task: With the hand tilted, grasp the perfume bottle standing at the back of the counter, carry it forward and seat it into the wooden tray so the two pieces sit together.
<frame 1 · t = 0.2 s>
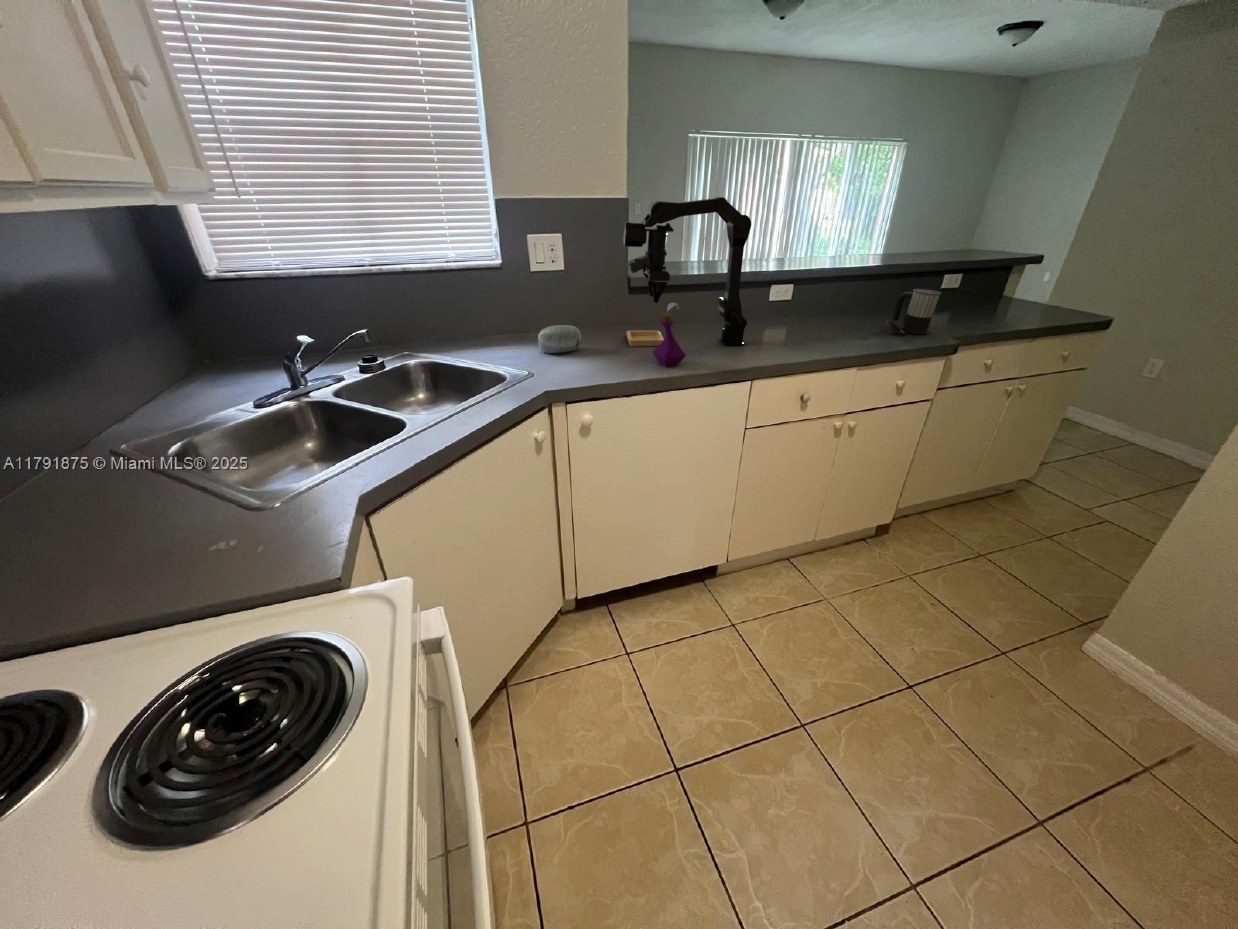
hand: (653, 299, 158), 15 cm above the worktop, tool pointing down, fingers open, 9 cm apart
perfume bottle: (668, 364, 148), on the worktop
milk frother: (905, 332, 184), on the worktop
grey rounded pouf: (560, 352, 156), on the worktop
wooden tray: (644, 340, 168), on the worktop
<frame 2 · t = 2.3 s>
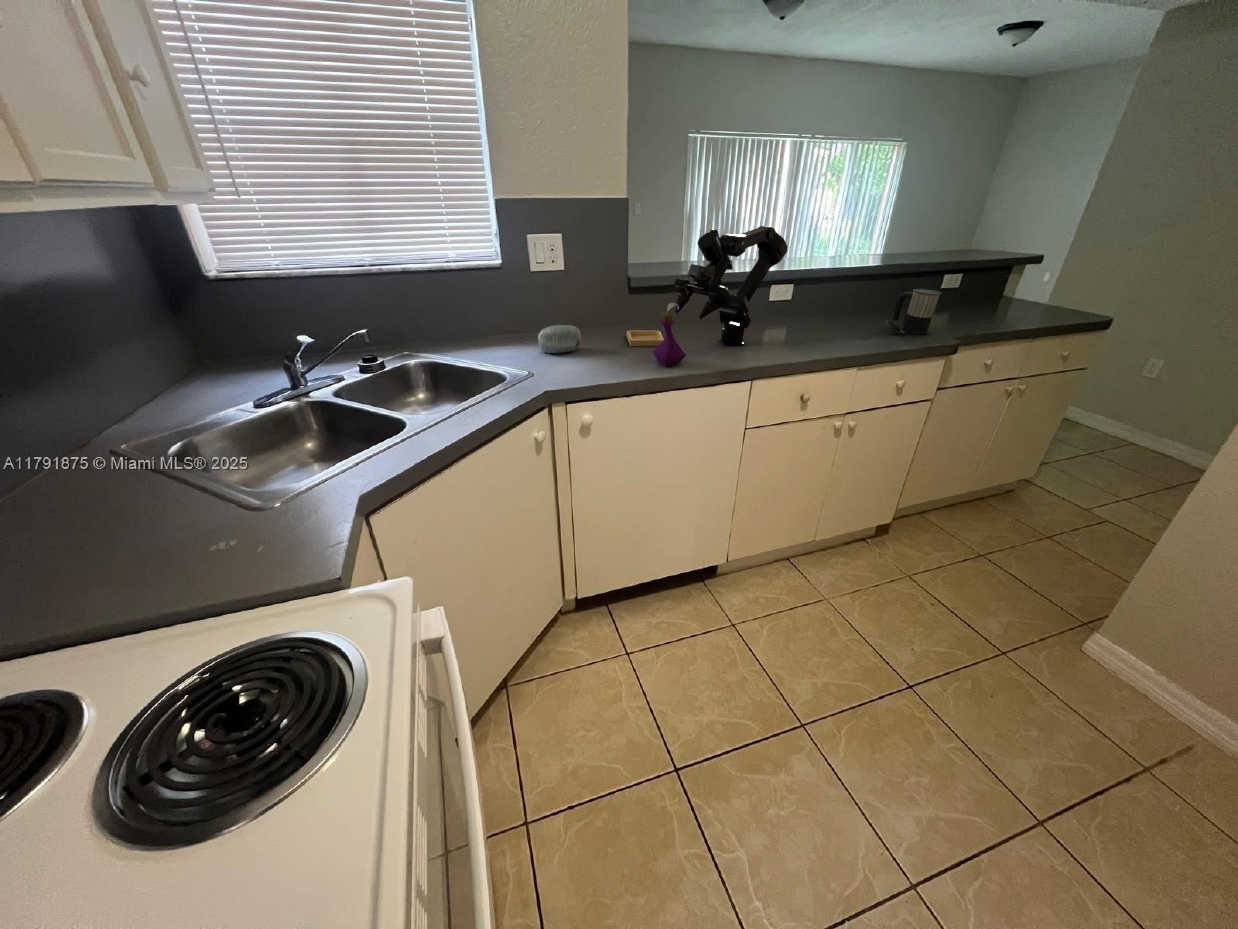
hand: (687, 314, 145), 13 cm above the worktop, tool tilted 45°, fingers open, 9 cm apart
nothing on the worktop moved.
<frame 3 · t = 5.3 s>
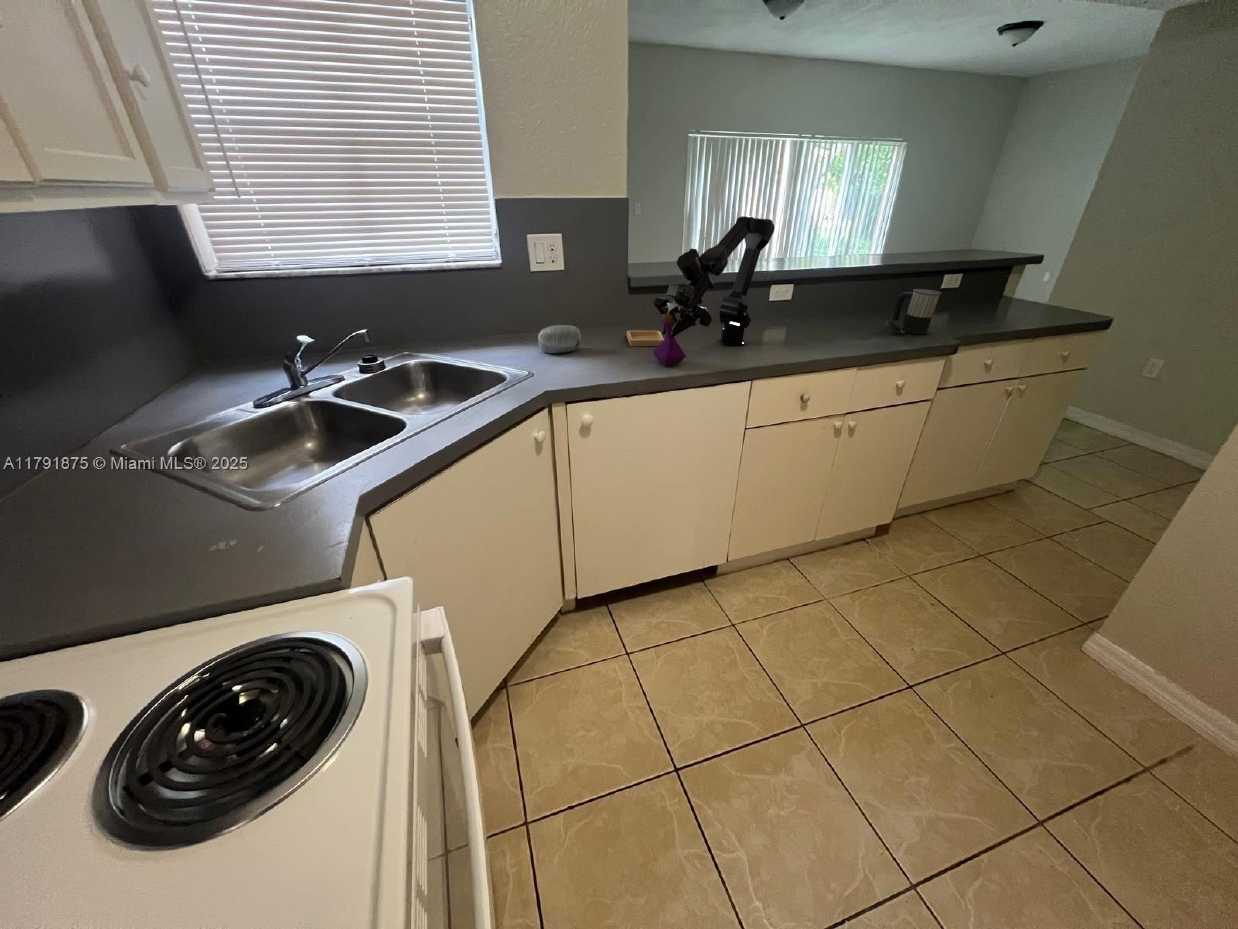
hand: (667, 335, 142), 9 cm above the worktop, tool tilted 45°, fingers closed on perfume bottle, 3 cm apart
perfume bottle: (668, 364, 148), on the worktop, touching gripper
everything else where it was.
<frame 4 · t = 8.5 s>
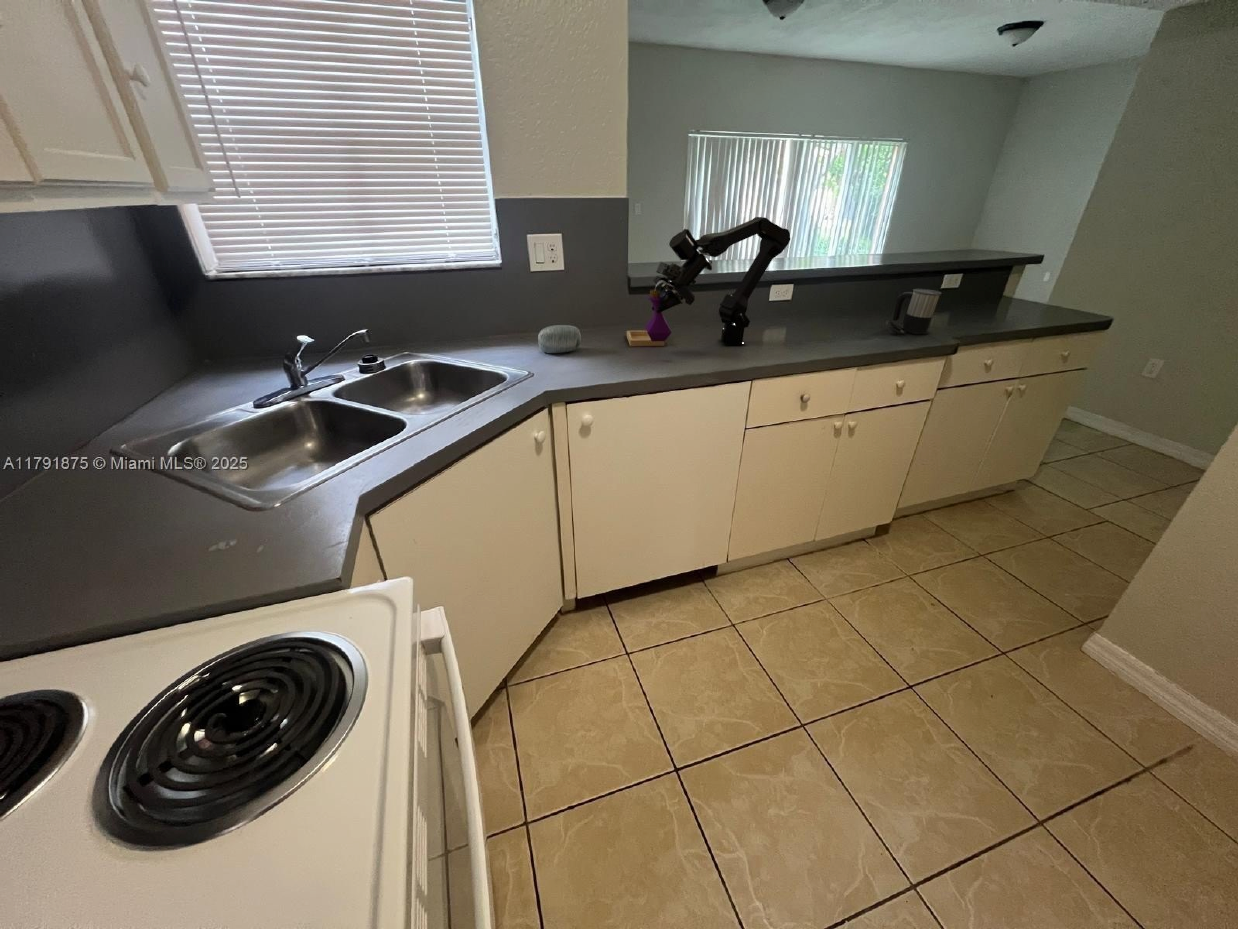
hand: (654, 310, 150), 13 cm above the worktop, tool tilted 45°, fingers closed on perfume bottle, 3 cm apart
perfume bottle: (657, 339, 155), point 4 cm above the worktop, touching gripper
everything else where it was.
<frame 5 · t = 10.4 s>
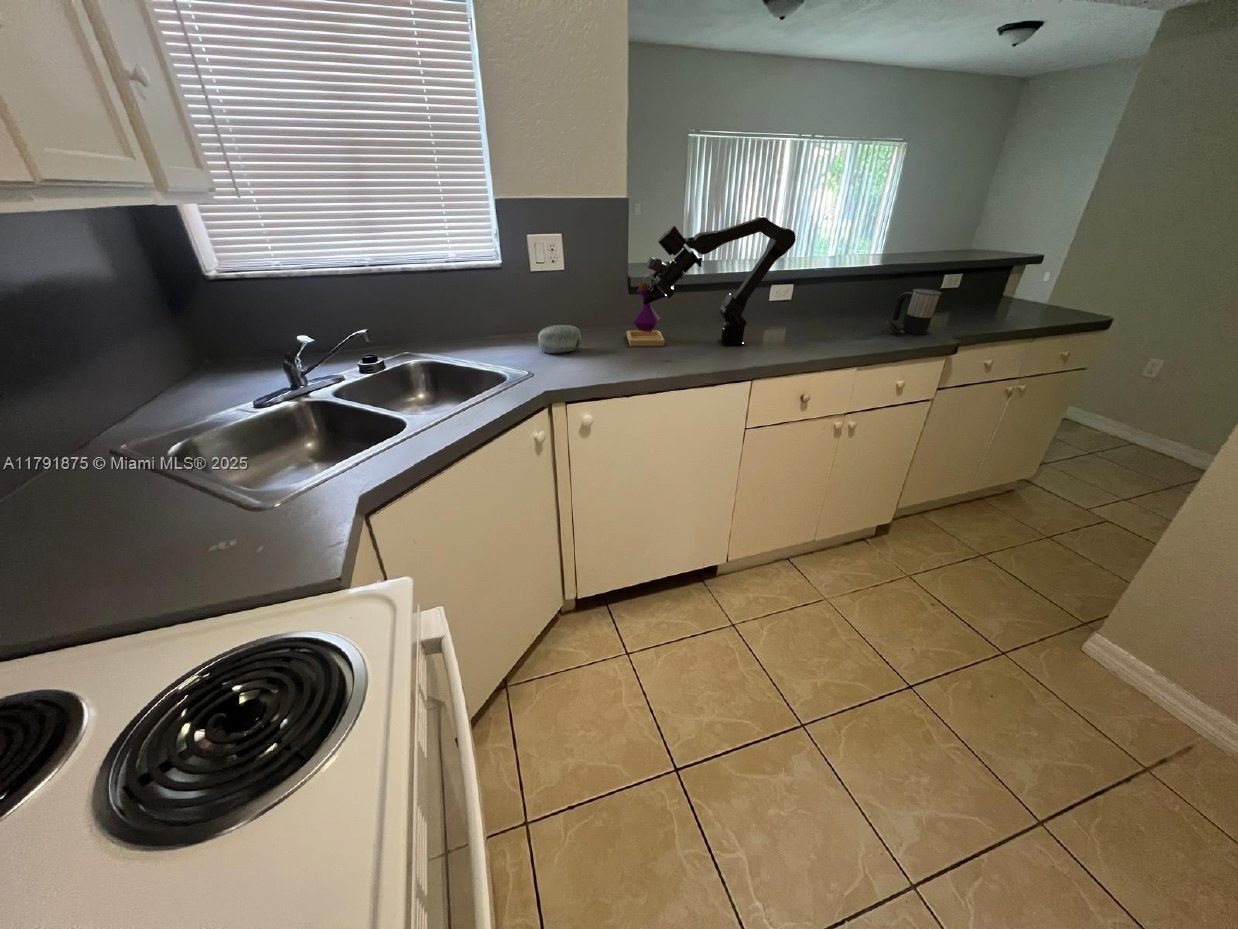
hand: (643, 302, 160), 13 cm above the worktop, tool tilted 45°, fingers closed on perfume bottle, 3 cm apart
perfume bottle: (646, 330, 165), point 4 cm above the worktop, touching gripper
everything else where it was.
when the fingers open (10 cm above the worktop, at t = 11.9 s): perfume bottle stays where it is, resting on wooden tray.
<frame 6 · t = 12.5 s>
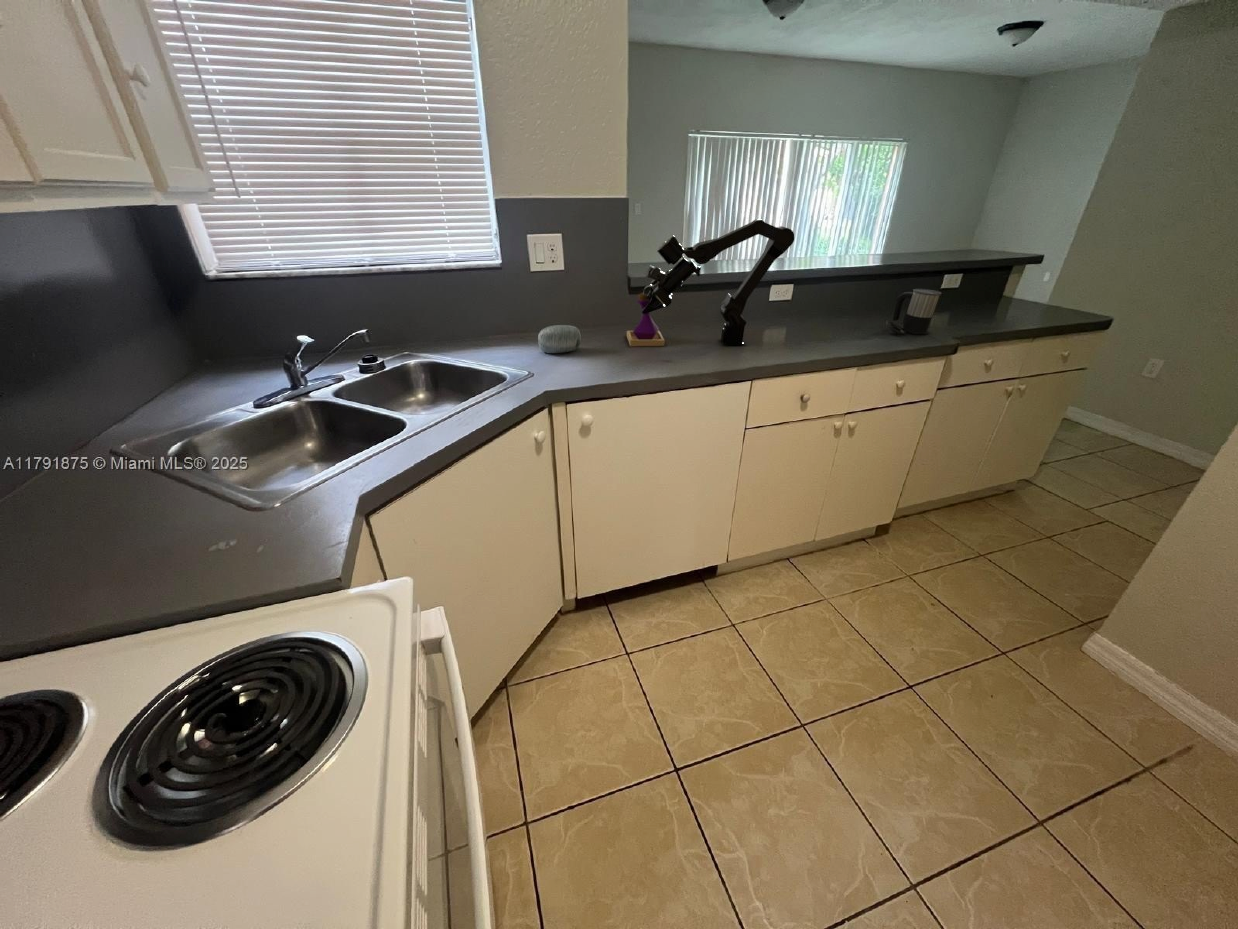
hand: (642, 309, 162), 11 cm above the worktop, tool tilted 45°, fingers open, 9 cm apart
perfume bottle: (645, 340, 168), resting on wooden tray
everything else where it was.
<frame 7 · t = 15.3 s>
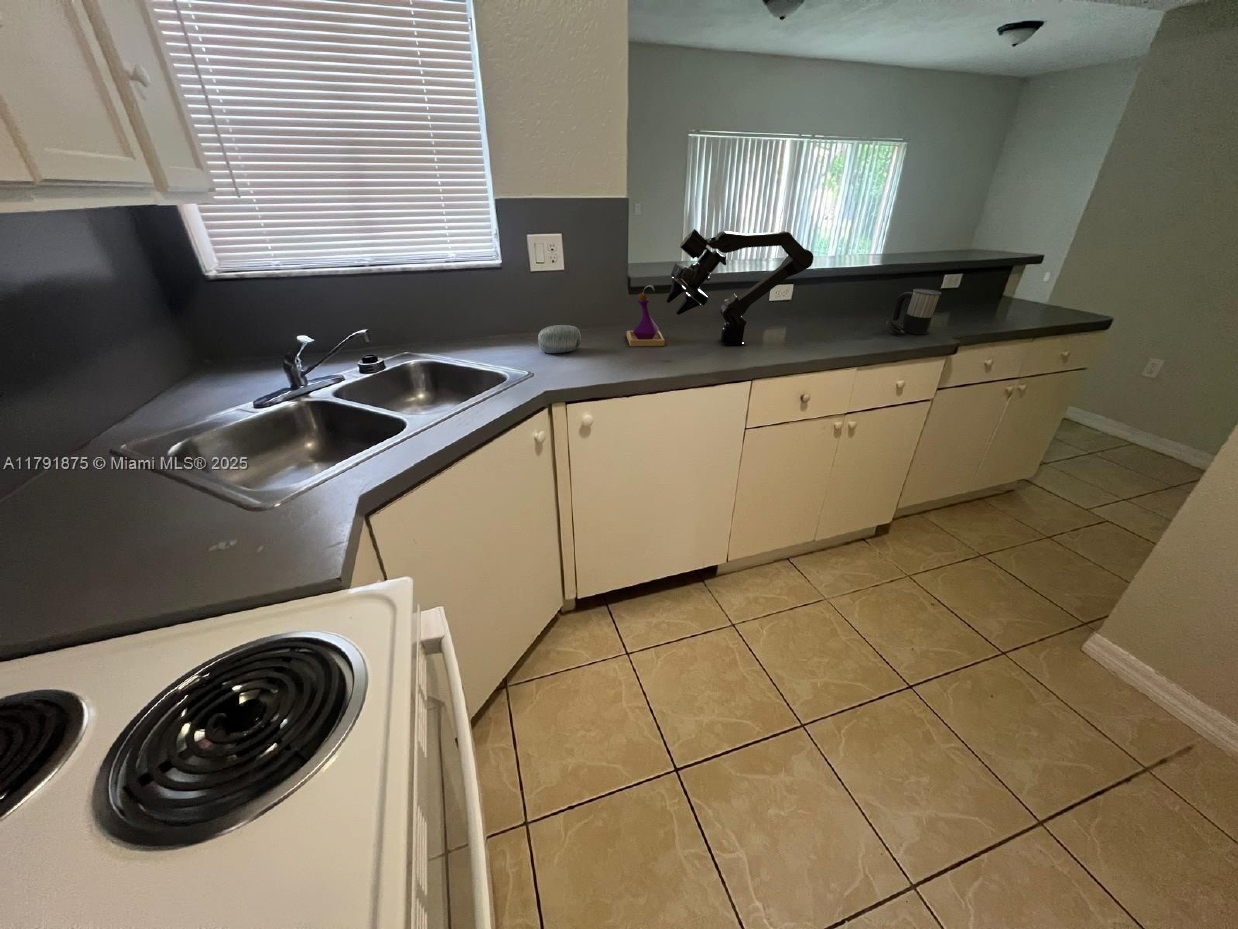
hand: (672, 307, 162), 11 cm above the worktop, tool tilted 35°, fingers open, 9 cm apart
nothing on the worktop moved.
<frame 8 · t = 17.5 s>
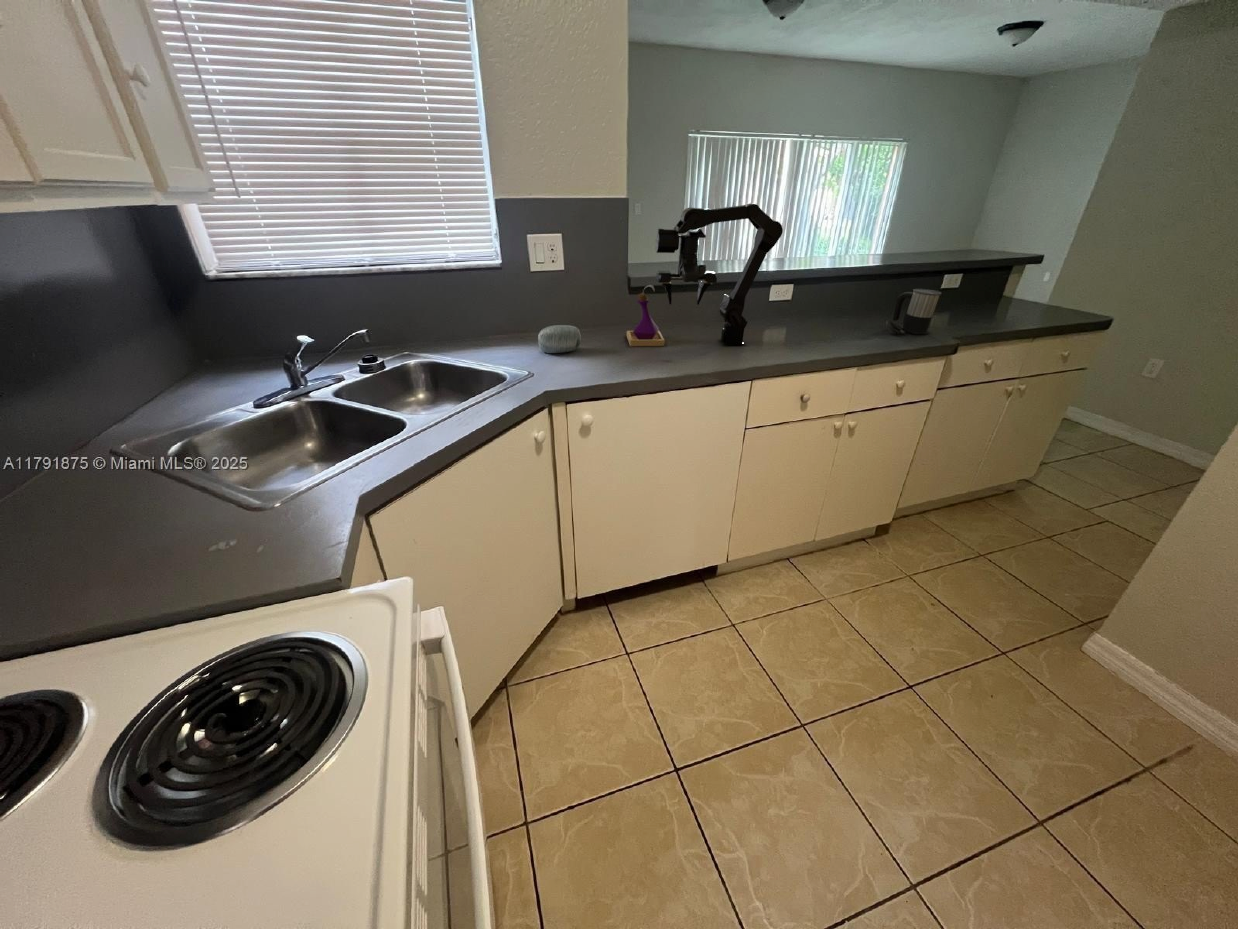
hand: (684, 304, 160), 13 cm above the worktop, tool pointing down, fingers open, 9 cm apart
nothing on the worktop moved.
at the end: perfume bottle 0.2 cm off-centre in the wooden tray, point 0.3 cm above the wooden tray's base; perfume bottle tilted 0°; the gripper is holding nothing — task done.
